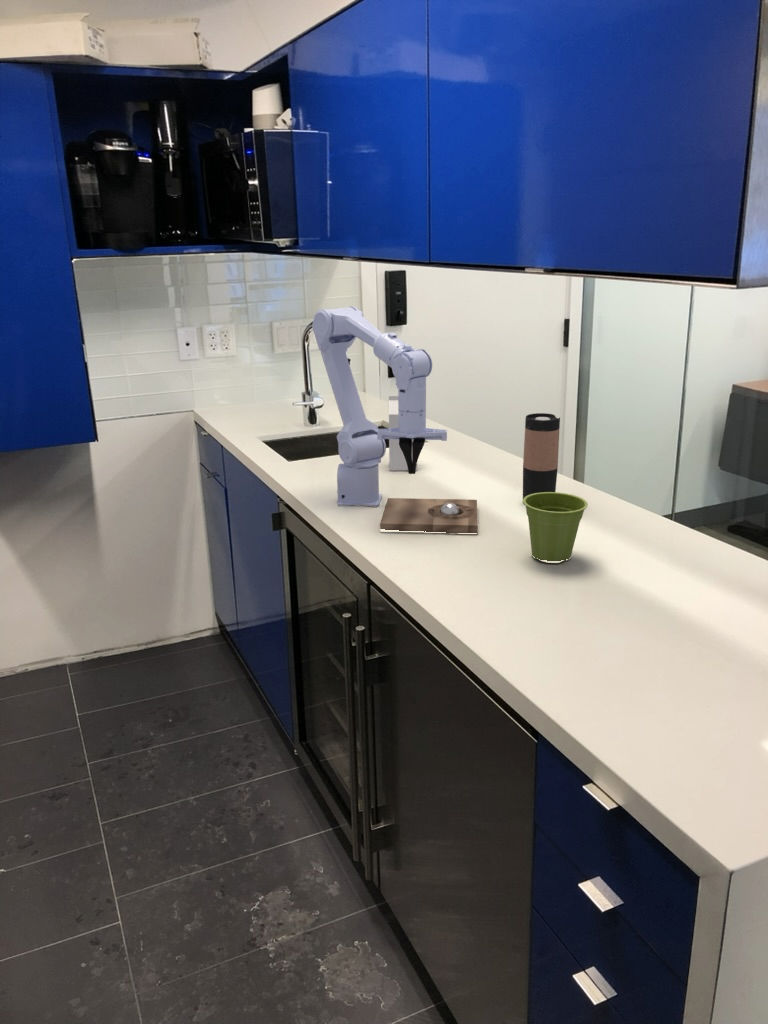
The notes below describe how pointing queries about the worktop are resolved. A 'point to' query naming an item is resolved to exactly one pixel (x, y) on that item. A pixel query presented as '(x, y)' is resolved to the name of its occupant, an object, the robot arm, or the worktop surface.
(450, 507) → the ball
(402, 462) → the milk carton
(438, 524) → the deck
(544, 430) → the travel mug
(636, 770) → the worktop surface
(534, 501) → the plant pot
